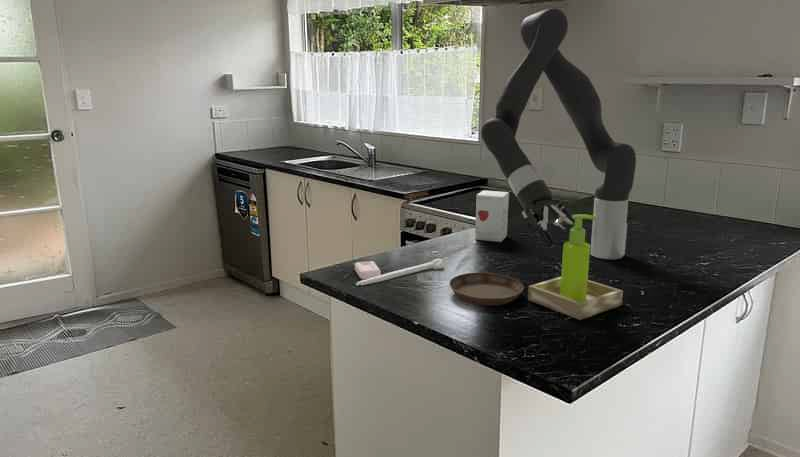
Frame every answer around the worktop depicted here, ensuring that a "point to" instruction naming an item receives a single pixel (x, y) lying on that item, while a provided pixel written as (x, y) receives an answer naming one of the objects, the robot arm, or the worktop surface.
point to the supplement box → (491, 215)
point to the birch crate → (595, 303)
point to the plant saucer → (486, 288)
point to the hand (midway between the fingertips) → (564, 243)
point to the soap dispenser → (576, 262)
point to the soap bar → (367, 269)
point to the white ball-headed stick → (404, 272)
